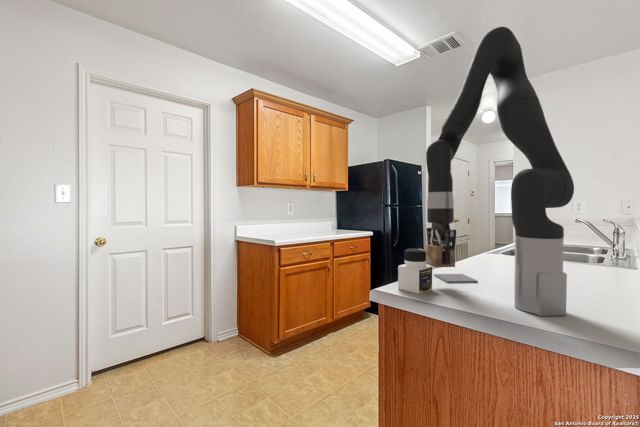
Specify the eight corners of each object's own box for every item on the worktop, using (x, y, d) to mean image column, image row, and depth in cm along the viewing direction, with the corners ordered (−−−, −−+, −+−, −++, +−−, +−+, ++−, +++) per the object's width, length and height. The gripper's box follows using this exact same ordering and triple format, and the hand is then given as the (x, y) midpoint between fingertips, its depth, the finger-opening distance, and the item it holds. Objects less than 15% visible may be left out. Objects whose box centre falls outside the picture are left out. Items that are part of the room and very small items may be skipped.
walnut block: (455, 266, 88) (455, 246, 88) (435, 267, 88) (435, 246, 88) (444, 263, 94) (444, 244, 94) (426, 264, 94) (426, 244, 94)
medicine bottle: (419, 294, 83) (419, 251, 83) (397, 289, 88) (397, 248, 88) (432, 289, 88) (432, 249, 87) (410, 285, 93) (411, 246, 93)
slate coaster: (477, 282, 96) (477, 280, 96) (447, 282, 95) (447, 281, 95) (461, 275, 106) (461, 273, 106) (434, 275, 105) (434, 274, 105)
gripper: (465, 206, 84) (465, 266, 84) (440, 208, 99) (440, 258, 99) (440, 206, 84) (440, 266, 84) (418, 208, 98) (418, 259, 98)
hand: (440, 262), depth 91 cm, fingers closed on walnut block, 6 cm apart
